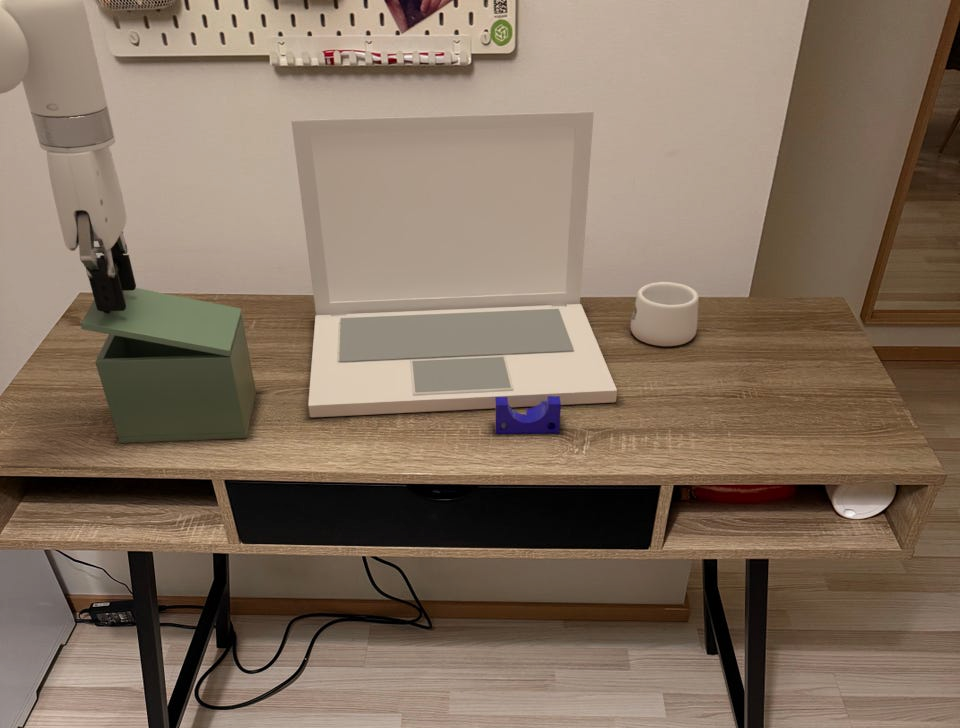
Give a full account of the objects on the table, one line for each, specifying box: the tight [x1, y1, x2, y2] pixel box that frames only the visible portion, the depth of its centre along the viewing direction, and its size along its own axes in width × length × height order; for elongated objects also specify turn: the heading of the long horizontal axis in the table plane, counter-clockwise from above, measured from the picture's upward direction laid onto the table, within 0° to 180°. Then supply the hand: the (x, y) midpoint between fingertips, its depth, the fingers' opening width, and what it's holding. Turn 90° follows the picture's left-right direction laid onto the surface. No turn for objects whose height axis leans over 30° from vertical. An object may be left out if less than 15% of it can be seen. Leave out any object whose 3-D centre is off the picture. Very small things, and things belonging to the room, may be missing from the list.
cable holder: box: [494, 396, 562, 435], centre depth 117 cm, size 8×4×4 cm, turn 91°
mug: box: [629, 281, 700, 347], centre depth 136 cm, size 12×10×6 cm
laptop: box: [290, 111, 618, 418], centre depth 122 cm, size 40×29×28 cm
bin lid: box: [80, 258, 243, 356], centre depth 110 cm, size 16×12×5 cm
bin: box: [94, 314, 257, 444], centre depth 117 cm, size 16×12×11 cm
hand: (117, 298), depth 109 cm, fingers closed on bin lid, 5 cm apart
